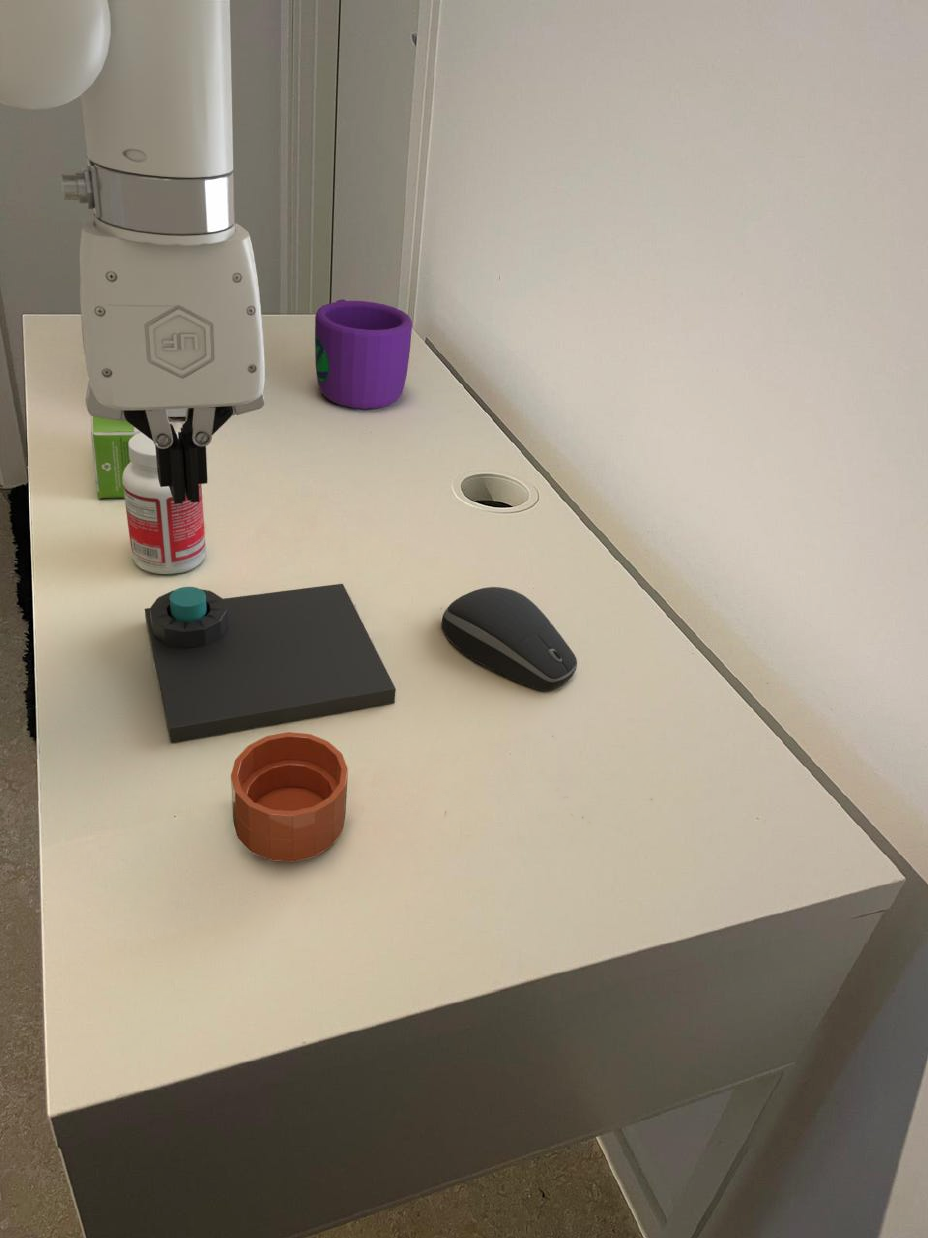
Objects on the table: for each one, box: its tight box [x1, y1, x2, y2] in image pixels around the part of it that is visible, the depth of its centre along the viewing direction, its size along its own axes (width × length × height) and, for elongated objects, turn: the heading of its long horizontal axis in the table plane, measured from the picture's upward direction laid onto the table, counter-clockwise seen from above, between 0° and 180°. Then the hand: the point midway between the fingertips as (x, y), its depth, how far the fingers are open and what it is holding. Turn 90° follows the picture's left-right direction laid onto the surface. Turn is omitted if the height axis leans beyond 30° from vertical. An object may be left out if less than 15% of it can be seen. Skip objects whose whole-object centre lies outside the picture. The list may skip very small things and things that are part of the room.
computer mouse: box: [441, 586, 578, 691], centre depth 73 cm, size 7×12×4 cm, turn 49°
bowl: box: [230, 731, 349, 863], centre depth 55 cm, size 7×7×5 cm
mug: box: [314, 298, 413, 410], centre depth 111 cm, size 17×11×10 cm, turn 24°
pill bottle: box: [122, 430, 207, 575], centre depth 75 cm, size 6×6×11 cm
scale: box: [144, 583, 397, 744], centre depth 68 cm, size 16×14×3 cm
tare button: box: [170, 586, 207, 622], centre depth 68 cm, size 3×3×2 cm
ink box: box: [90, 415, 142, 500], centre depth 85 cm, size 10×5×14 cm, turn 18°
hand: (183, 492), depth 61 cm, fingers closed
